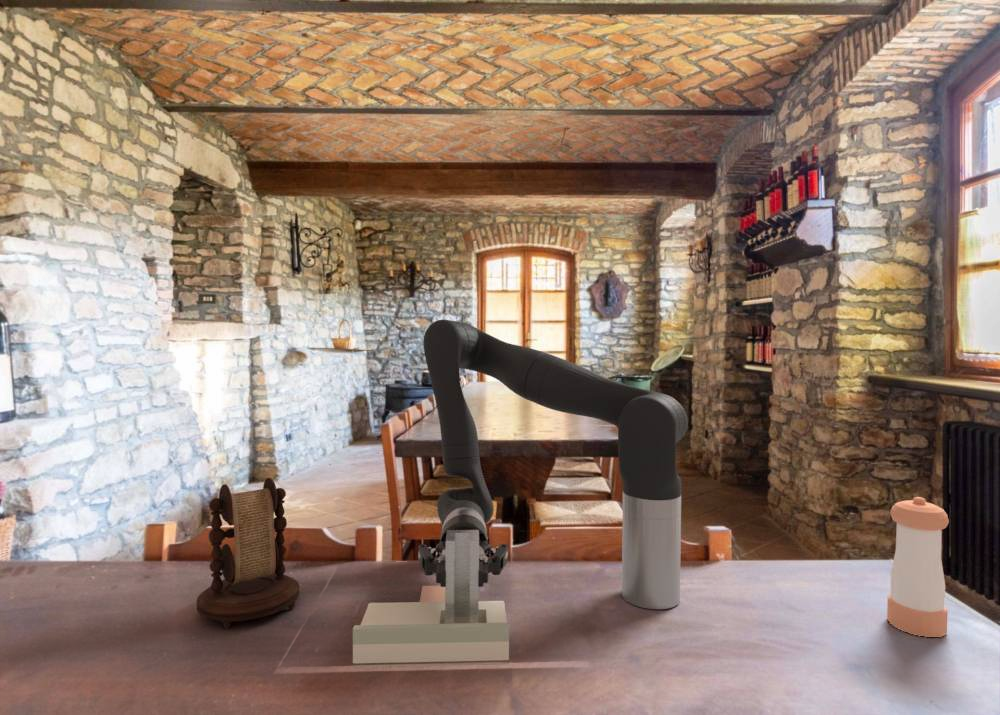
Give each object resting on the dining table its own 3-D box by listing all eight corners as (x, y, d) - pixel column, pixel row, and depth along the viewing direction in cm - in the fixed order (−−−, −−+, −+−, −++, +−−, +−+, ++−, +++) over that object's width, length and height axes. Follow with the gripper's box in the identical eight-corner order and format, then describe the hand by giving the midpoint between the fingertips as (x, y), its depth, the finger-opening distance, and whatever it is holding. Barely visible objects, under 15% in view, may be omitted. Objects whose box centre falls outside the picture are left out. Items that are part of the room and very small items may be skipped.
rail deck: (369, 622, 88) (369, 589, 88) (503, 620, 89) (504, 587, 89) (352, 667, 76) (352, 629, 76) (508, 664, 77) (509, 626, 77)
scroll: (213, 642, 82) (211, 499, 82) (185, 606, 93) (183, 479, 93) (315, 610, 92) (314, 482, 91) (279, 581, 103) (278, 466, 102)
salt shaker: (939, 620, 89) (943, 494, 89) (953, 642, 83) (956, 506, 82) (883, 611, 92) (885, 489, 92) (891, 631, 86) (894, 500, 85)
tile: (422, 589, 100) (422, 585, 100) (470, 588, 100) (470, 585, 100) (418, 611, 92) (418, 607, 92) (470, 610, 92) (470, 606, 92)
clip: (446, 612, 85) (447, 530, 84) (477, 612, 85) (478, 529, 84) (444, 628, 80) (445, 541, 80) (478, 628, 80) (479, 540, 80)
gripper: (420, 513, 96) (408, 552, 79) (508, 513, 97) (515, 552, 80) (419, 559, 96) (408, 608, 79) (507, 558, 97) (514, 606, 80)
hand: (462, 579), depth 80 cm, fingers closed on clip, 4 cm apart
